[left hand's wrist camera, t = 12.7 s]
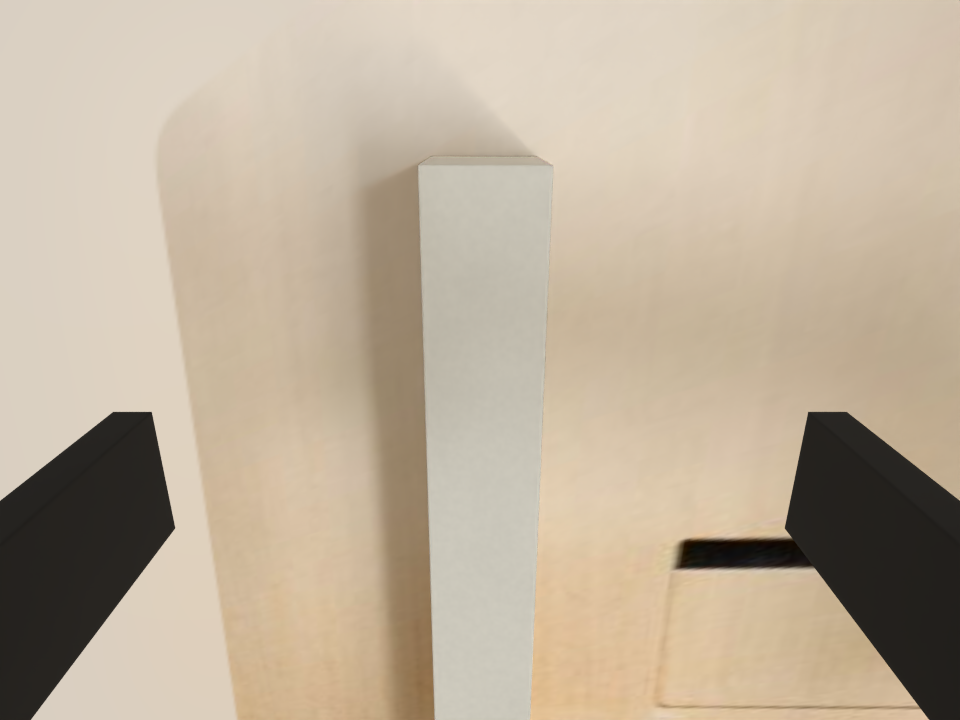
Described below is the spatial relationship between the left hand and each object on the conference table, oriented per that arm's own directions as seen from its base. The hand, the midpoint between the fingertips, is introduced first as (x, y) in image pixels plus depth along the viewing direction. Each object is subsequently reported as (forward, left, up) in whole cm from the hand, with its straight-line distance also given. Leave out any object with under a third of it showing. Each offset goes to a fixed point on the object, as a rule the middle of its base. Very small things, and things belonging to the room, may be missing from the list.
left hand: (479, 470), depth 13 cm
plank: (+17, +13, -25) cm, 33 cm away
